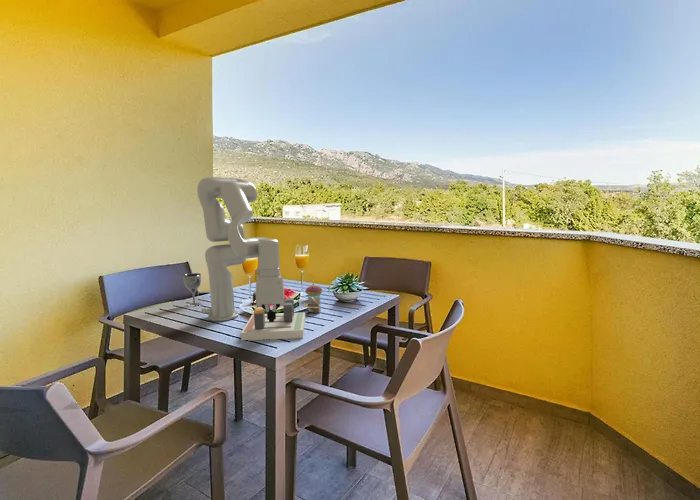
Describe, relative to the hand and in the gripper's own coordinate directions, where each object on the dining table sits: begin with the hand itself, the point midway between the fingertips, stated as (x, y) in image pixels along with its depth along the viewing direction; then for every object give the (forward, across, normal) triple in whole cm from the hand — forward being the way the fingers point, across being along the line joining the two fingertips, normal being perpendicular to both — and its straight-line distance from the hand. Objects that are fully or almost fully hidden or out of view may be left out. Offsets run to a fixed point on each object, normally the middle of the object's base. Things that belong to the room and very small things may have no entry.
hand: (271, 321), depth 138 cm
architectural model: (+6, +15, +27) cm, 32 cm away
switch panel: (+6, +1, +7) cm, 9 cm away
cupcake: (+6, +15, +50) cm, 52 cm away
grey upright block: (+2, -4, 0) cm, 5 cm away
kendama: (+6, -10, +52) cm, 53 cm away
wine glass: (+6, -44, +49) cm, 66 cm away
